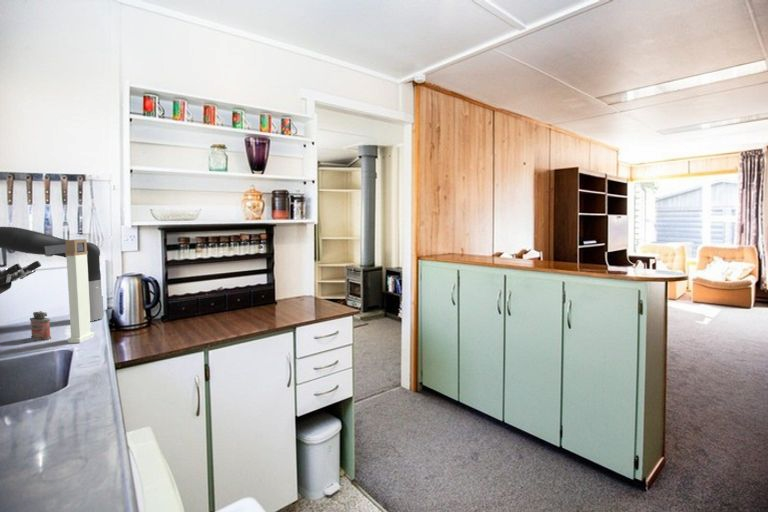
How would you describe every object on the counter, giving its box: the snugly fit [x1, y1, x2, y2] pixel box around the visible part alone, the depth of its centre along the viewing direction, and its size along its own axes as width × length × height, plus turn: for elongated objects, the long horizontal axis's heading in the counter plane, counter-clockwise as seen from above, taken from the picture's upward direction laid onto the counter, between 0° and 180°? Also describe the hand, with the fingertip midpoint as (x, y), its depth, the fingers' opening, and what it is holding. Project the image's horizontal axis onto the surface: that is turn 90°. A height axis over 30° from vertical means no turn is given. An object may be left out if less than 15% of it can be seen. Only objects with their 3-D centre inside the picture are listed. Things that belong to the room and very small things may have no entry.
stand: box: [65, 238, 95, 344], centre depth 146 cm, size 8×4×36 cm, turn 3°
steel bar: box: [44, 243, 84, 256], centre depth 144 cm, size 3×11×3 cm, turn 93°
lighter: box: [29, 310, 52, 342], centre depth 147 cm, size 8×3×10 cm, turn 71°
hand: (29, 264), depth 144 cm, fingers open, 8 cm apart
